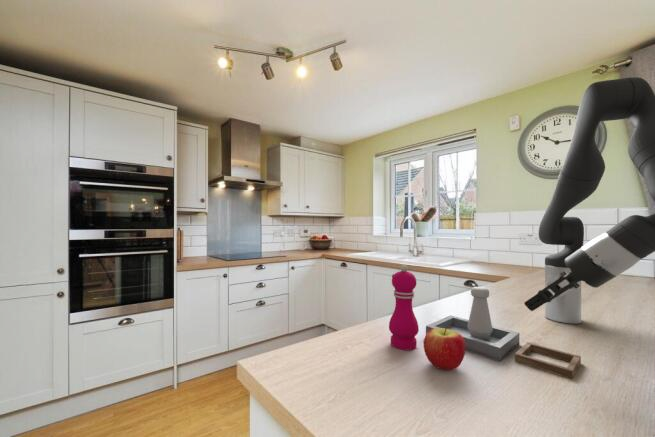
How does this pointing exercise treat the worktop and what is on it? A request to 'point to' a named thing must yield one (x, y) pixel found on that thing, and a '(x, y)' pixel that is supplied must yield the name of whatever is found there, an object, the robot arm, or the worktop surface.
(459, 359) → the apple
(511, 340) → the tray
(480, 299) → the salt shaker
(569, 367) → the wooden square frame
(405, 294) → the pepper mill
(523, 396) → the worktop surface
